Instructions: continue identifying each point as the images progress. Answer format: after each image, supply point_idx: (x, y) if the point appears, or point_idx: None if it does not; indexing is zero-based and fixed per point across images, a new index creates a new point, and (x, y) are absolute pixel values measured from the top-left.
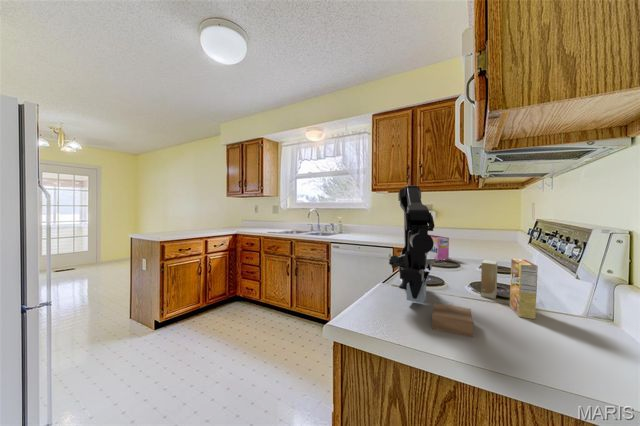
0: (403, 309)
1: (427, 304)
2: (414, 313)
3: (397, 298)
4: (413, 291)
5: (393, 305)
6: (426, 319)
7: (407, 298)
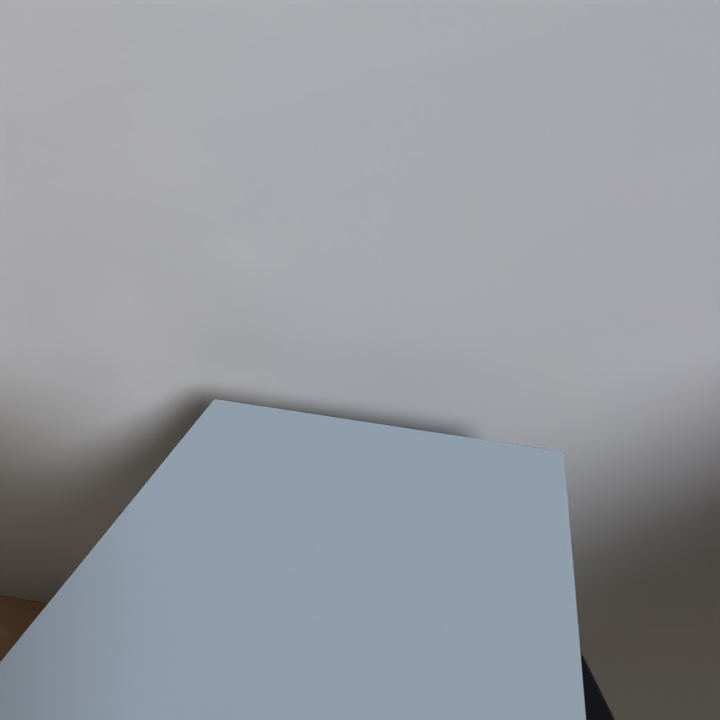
0: (60, 322)
1: None
2: (51, 458)
3: (569, 103)
4: None
5: (87, 128)
6: (9, 555)
7: (201, 436)
